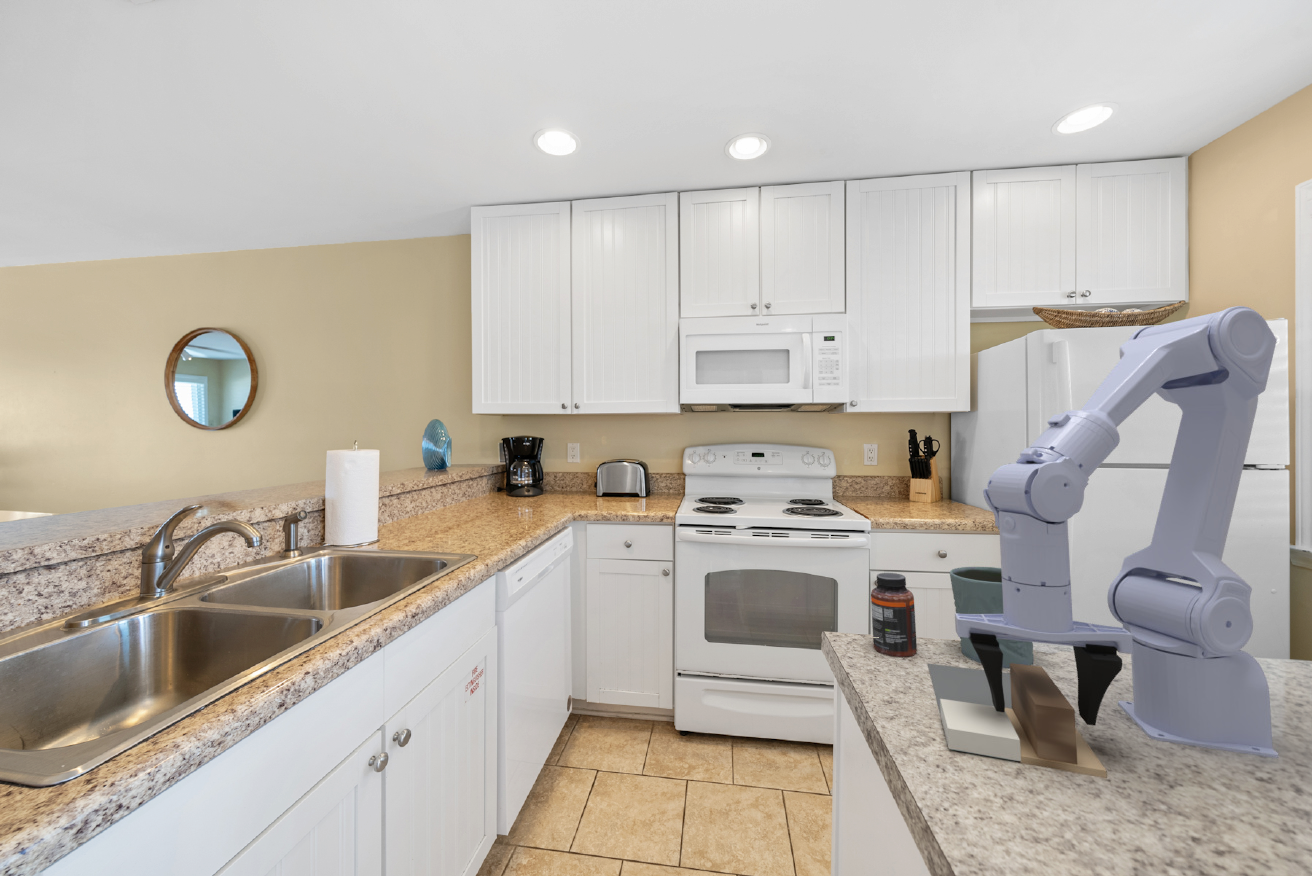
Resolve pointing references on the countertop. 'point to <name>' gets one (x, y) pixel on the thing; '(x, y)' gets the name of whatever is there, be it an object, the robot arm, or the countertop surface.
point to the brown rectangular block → (1043, 713)
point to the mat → (965, 685)
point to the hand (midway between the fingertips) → (1041, 713)
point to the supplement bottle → (893, 616)
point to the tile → (979, 730)
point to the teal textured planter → (985, 609)
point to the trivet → (1085, 761)
